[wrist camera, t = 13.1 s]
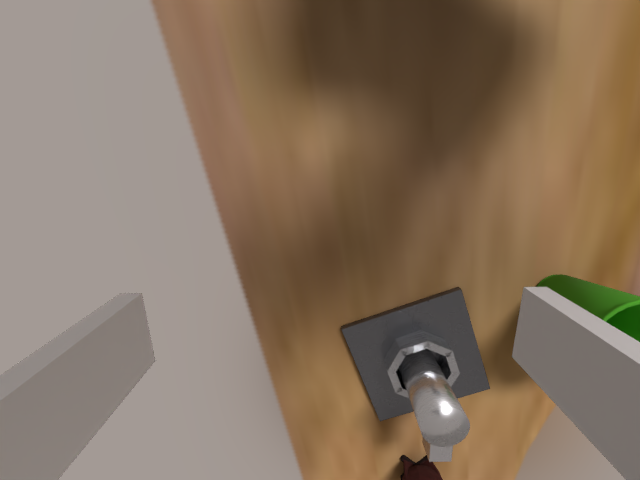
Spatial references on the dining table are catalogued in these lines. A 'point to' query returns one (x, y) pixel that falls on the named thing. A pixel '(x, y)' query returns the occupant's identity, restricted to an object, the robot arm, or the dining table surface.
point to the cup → (600, 302)
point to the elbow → (433, 405)
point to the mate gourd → (419, 470)
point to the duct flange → (416, 349)
